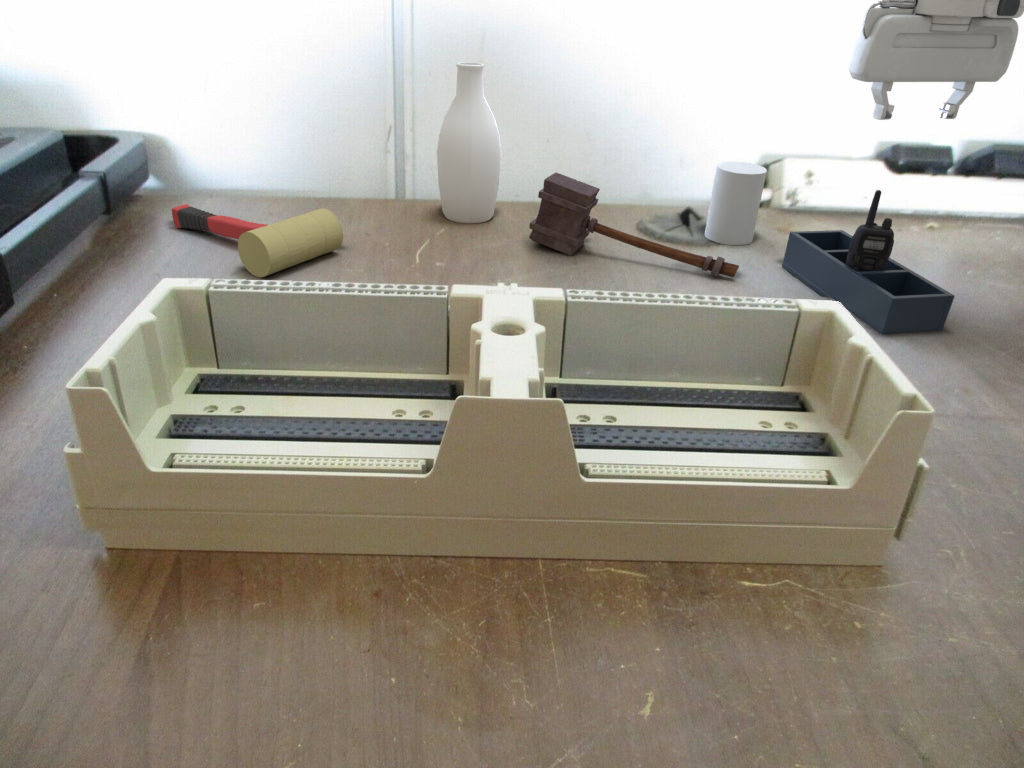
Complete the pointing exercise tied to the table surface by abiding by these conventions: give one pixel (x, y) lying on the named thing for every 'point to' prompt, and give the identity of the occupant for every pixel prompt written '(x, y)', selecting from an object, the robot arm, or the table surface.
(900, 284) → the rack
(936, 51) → the robot arm
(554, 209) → the hammer
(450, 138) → the bottle
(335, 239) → the mallet
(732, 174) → the white cylinder
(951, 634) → the table surface
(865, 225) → the two-way radio
